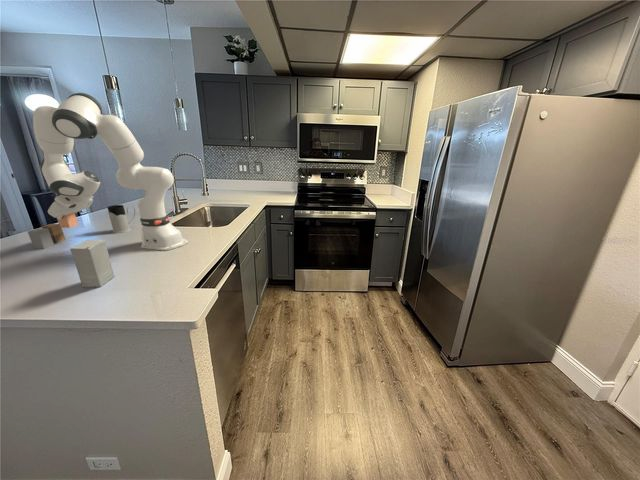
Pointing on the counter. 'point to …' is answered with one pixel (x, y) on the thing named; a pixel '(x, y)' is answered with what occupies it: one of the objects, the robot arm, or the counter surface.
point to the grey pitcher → (119, 218)
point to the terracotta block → (68, 221)
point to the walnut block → (55, 232)
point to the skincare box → (92, 263)
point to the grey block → (41, 238)
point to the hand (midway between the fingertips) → (65, 216)
